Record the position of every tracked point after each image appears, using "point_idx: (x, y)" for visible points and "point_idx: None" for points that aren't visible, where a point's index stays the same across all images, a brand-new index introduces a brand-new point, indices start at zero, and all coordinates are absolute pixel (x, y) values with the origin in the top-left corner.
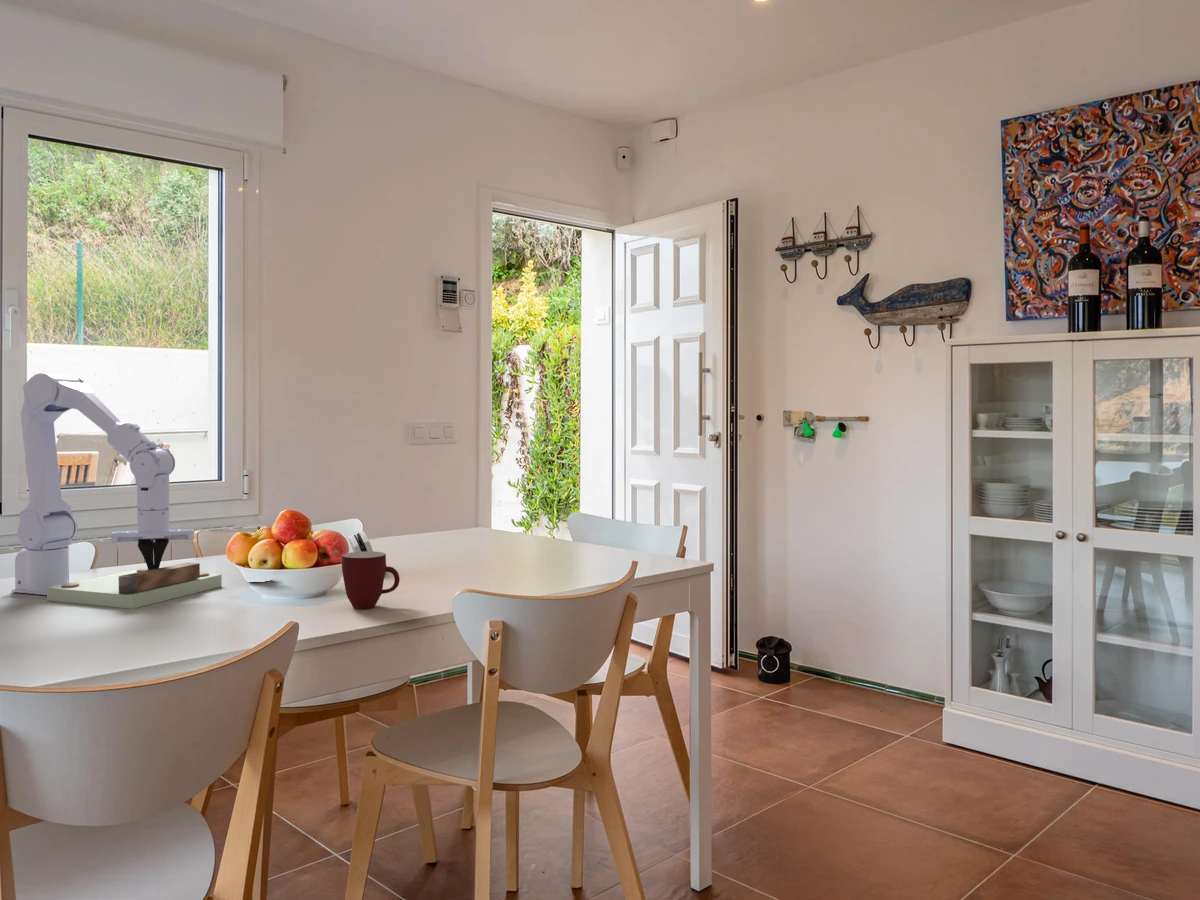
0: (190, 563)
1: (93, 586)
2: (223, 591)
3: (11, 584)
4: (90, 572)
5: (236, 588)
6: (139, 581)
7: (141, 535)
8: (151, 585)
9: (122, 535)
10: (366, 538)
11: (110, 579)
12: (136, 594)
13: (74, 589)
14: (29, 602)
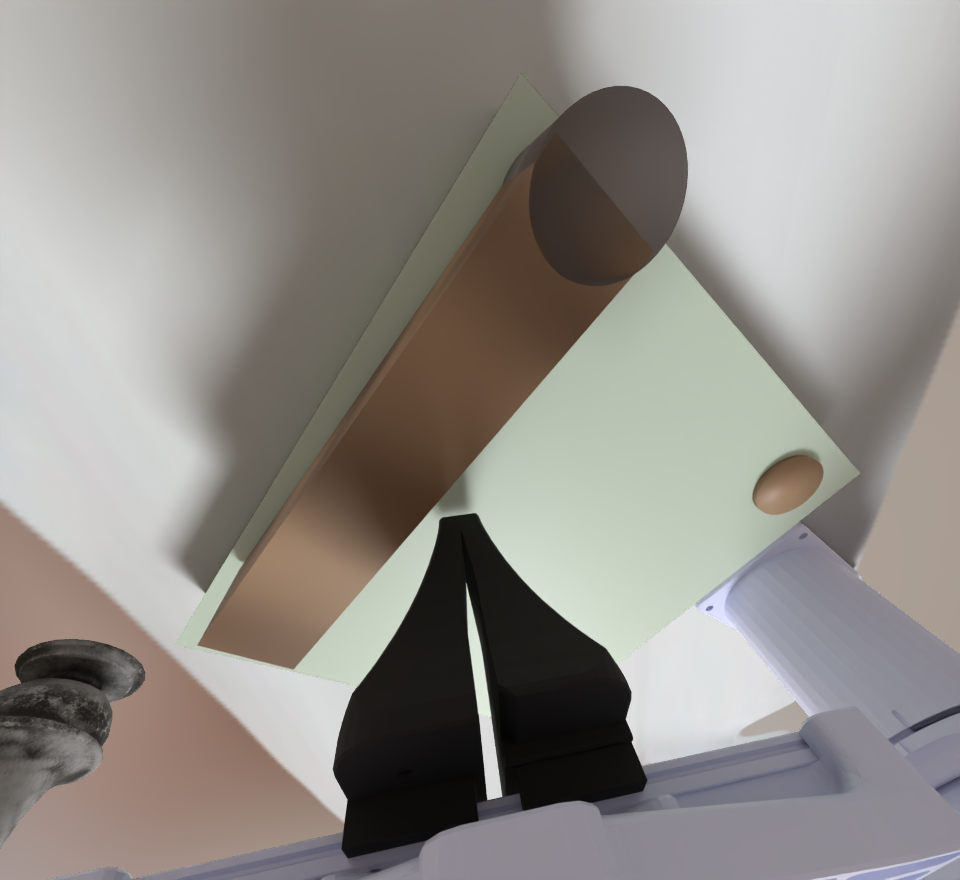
0: (262, 645)
1: (707, 465)
2: (135, 500)
3: None
4: (650, 744)
5: (102, 553)
6: (501, 201)
7: (660, 842)
8: (425, 300)
9: (854, 816)
10: None
11: (634, 589)
12: (496, 116)
13: (787, 412)
14: (860, 430)
